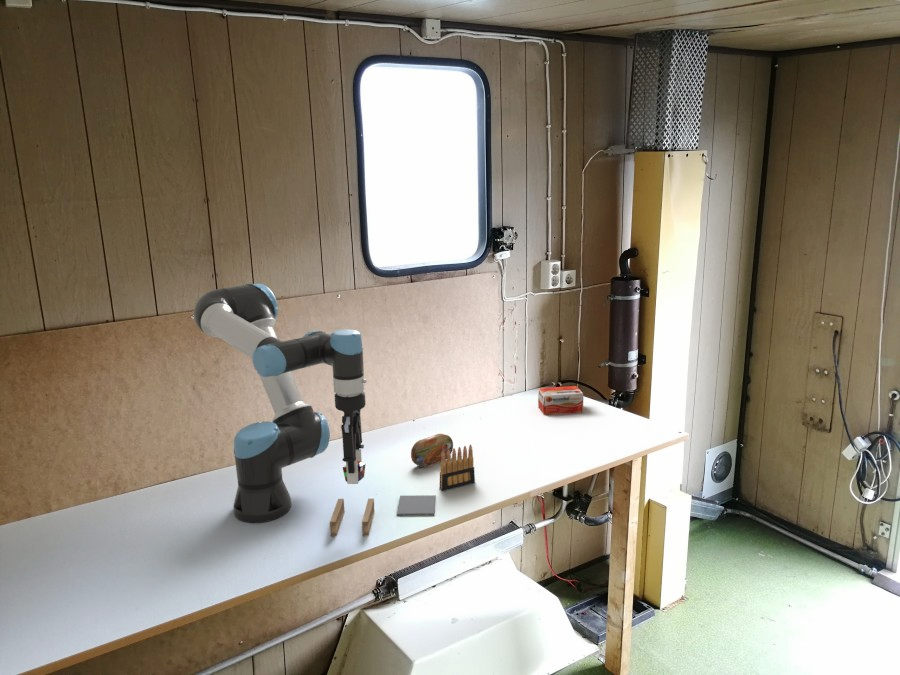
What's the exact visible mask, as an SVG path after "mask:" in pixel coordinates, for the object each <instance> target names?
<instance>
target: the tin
mask: <svg viewBox="0 0 900 675" xmlns="http://www.w3.org/2000/svg"><path fill="white" fill-rule="evenodd" d="M453 448H454V442H453V439H452V438H451V437H450V435H448V434H444V433H437V434H434V435H431V436H428V437H426V438H425V437H424V438H423V439H419V440H418V441H416V442H415V443H414V444H413V446H412V447H411V450H410V457H411V461H412V463H413V464H415V465H416V466H418V467H419V468H427V467H430V466H432V465H435V464H438V463H441V454H442V451H444V453H445V461H446V459H447V451H448V449H449V450H450V454H451V455H452V452H453Z"/></svg>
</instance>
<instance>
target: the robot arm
mask: <svg viewBox="0 0 900 675" xmlns="http://www.w3.org/2000/svg"><path fill="white" fill-rule="evenodd" d="M277 306H278V301H277V298H276V296H275V294H274V292H273V291H272V289H270V288H269V287H268V286H267V285H264V284H263V283H246V284H243V285H237V286H236V285H235V286H230V287H224V288H217V289H216V288H215V289H212V290H209V291H207V292H205V293H203V294H202V296H200V297H199V299H198V300H197V301H196V303H195V306H194V308H193V313H192V314H193V320H194V322H195V325H196V326H197V329H199V330H200V331H201V332H202V333H204V334H206V335H207V336H208V337H211V338H219V339H220V340H222V341H224V342H225V343H226V344H228V345H230V346H231V347H233V348H234V349H236V350H237V351H239V352H240V353H242V354H243V355H246V356H247V357H249V358H250V359H252V364H253V367H254V370H255V371H256V372H257V375H258V376H259V378H260V380H261V383H262V385H263V388H264V390H265V393H266V395H267V398H268V399H269V403H270V406H271V407H272V409H273V413H274V416H273V417H272V418H273V419H272V420H271V421H261V422H259V421H258V422H254V423H251V424H248V425H246V426H243V427H242V428H241V429H239V430H238V431H237V433H236V434H235V436H234V439H233V455H234V460H235V462H234V463H235V468H236V469H235V470H236V478H237V489H236V492H235V497H234V500H233V501H234V502H233V514H234V517H235V518H236V519H237V520H239V521H242V522H245V523H266V522H270V521H273V520H276V519H279V518H280V517H283V516H284V515H285V514H287V513H288V512H289V511H290V510H291V508H292V498H291V495H290V492H289V491H288V488H287V486H286V484H285V482H284V480H283V470H282V469H283V468H286V467H288V466H291V465H293V464H296V463H299V462H302V461H305V460H307V459H312V458H314V457H316V456H317V455H320V454H322V453H324V452H325V451H326V450H327V448H328V447H329V444H330V439H331V433H330V425H329V422H328V420H327V417H325V415H323V414H322V412H318V411H314V409H313V407H312V405H311V404H309V403H307V402H305V401H304V399H303V397H302V395H301V392H300V390H299V387H298V384H297V382H296V380H295V378H294V375H293V372H294V371H297V370H300V369H301V370H302V369H305V368H309V367H313V366H317V365H322V364H325V365H328V366H331V367H332V378H333V379H332V380H333V392H334V393H335V394H334V407H335V409H336V410H338V411H341V412H343V415H342V416H341V423H342V424H341V425H340V428H341V429H340V430H341V435H342V436H341V437H342V451H343V458H341V459H342V462H344V463H345V465H346V470H347V485H358V484H359V482H360V481H358V466H357V461H359V462H362V463H363V461H362V449H364V447H365V445H364V444H362V443H363V436H362V420H361V411H362V409H363V408H365V407H366V392H365V383H367V379H366V378H364V376H365V375H364V369H365V368H364V352H363V350H364V346H363V341H362V334H361V333H360V331H358V330H356V329H349V328H347V329H346V328H345V329H344V328H343V329H337V330H335V331H333V332H332V333H328V332H325V331H322V330H311V331H308V332H307V333H305V334H304V335H303V336H302V337H298V338H293V339H289V340H288V339H287V340H280V339H278V337H277V334H276V331H275V325H276V323H277V320H276V318H277V316H278V313H279V308H278V307H277Z"/></svg>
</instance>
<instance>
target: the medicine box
mask: <svg viewBox="0 0 900 675" xmlns="http://www.w3.org/2000/svg"><path fill="white" fill-rule="evenodd" d="M537 402H538V404H537V406H538V407H537V408H538V409H539V410H540V411H541V412H542V415H543V416H551V415H552V416H553V415H554V416H555V415H565V414H569V415H570V414H582V413H583V409H584V392H582V391H581V389H580V388H579V387H578V386H577V385H572V386H555V387H543V388H542V387H541V388H539V389H538V394H537Z"/></svg>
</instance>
